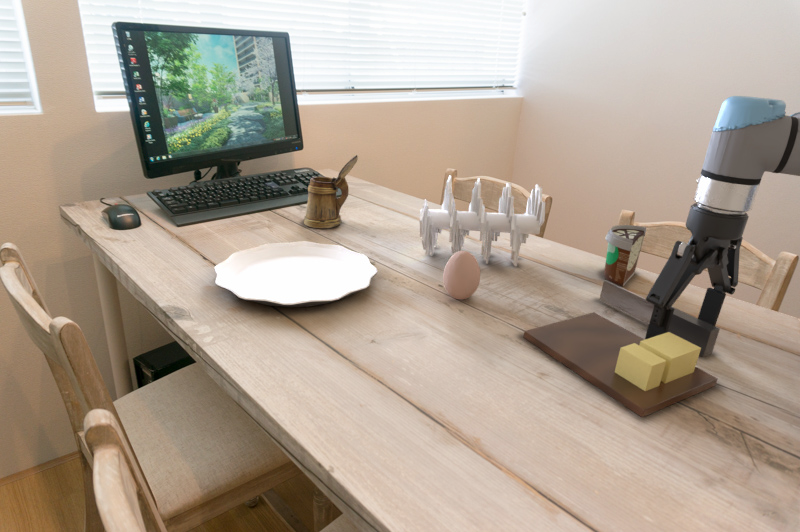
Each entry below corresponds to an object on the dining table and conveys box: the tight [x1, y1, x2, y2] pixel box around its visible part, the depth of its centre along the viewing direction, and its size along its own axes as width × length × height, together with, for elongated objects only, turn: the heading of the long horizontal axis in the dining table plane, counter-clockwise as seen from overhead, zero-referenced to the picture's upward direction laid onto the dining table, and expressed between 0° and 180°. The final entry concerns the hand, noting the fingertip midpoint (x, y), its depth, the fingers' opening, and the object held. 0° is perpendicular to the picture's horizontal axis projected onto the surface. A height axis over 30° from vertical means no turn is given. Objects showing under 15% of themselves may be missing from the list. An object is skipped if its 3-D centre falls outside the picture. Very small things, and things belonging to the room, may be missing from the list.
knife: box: [599, 279, 721, 358], centre depth 90 cm, size 21×2×4 cm, turn 30°
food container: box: [603, 224, 647, 287], centre depth 109 cm, size 12×6×10 cm, turn 144°
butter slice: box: [615, 343, 666, 391], centre depth 72 cm, size 5×3×4 cm, turn 30°
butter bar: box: [639, 332, 701, 383], centre depth 75 cm, size 5×6×4 cm
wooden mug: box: [303, 154, 359, 229], centre depth 129 cm, size 9×14×18 cm, turn 73°
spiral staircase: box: [419, 175, 546, 267], centre depth 112 cm, size 18×18×25 cm
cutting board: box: [523, 311, 718, 418], centre depth 79 cm, size 22×16×1 cm
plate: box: [213, 240, 378, 308], centre depth 100 cm, size 29×29×2 cm
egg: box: [442, 250, 481, 300], centre depth 95 cm, size 7×7×9 cm
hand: (680, 334), depth 85 cm, fingers open, 13 cm apart
